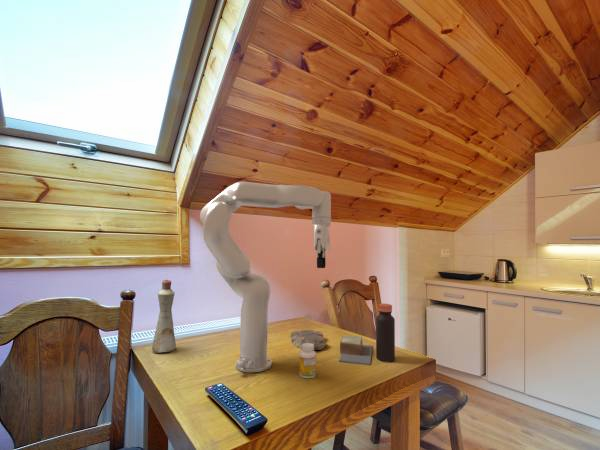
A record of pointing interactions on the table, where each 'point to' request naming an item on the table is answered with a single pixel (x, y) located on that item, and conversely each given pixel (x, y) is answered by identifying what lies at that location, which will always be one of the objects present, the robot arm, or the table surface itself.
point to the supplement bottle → (307, 361)
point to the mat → (359, 356)
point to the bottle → (165, 321)
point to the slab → (351, 345)
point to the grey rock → (308, 338)
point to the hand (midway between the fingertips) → (321, 267)
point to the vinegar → (385, 334)
